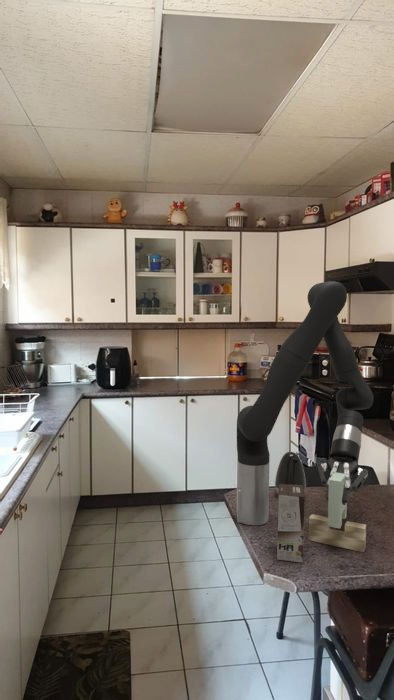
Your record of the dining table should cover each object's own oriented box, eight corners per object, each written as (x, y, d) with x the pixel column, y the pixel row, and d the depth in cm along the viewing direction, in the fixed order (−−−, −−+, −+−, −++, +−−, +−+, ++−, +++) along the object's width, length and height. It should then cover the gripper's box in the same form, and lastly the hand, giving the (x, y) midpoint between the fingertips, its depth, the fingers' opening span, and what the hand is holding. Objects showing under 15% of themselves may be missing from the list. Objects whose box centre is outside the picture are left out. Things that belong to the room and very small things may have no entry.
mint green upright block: (339, 528, 117) (340, 481, 116) (327, 526, 118) (328, 479, 118) (346, 516, 125) (347, 472, 124) (335, 513, 126) (336, 470, 125)
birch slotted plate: (308, 540, 123) (309, 517, 123) (311, 535, 126) (311, 513, 126) (363, 552, 117) (364, 528, 117) (365, 547, 120) (366, 524, 119)
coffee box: (303, 563, 111) (305, 496, 110) (276, 560, 112) (277, 494, 112) (302, 546, 120) (304, 484, 119) (277, 543, 121) (278, 482, 121)
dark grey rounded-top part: (283, 503, 149) (284, 457, 149) (269, 492, 159) (270, 449, 159) (311, 500, 152) (312, 455, 152) (296, 490, 162) (297, 447, 162)
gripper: (318, 434, 130) (306, 490, 120) (371, 440, 124) (363, 500, 113) (322, 449, 135) (311, 504, 125) (373, 455, 129) (366, 514, 118)
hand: (336, 501), depth 119 cm, fingers closed on mint green upright block, 3 cm apart
